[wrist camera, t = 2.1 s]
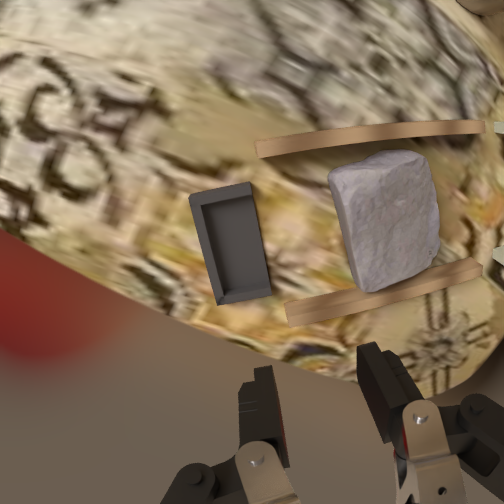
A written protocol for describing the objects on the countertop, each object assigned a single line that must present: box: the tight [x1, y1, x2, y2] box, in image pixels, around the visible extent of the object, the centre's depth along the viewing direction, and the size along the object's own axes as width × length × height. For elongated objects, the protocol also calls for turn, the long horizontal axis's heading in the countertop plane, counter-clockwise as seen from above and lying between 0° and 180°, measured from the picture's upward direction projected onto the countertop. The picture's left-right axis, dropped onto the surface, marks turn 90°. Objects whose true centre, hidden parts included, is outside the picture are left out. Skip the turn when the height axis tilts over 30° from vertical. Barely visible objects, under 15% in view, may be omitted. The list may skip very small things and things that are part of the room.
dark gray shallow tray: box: [188, 182, 272, 306], centre depth 28 cm, size 5×10×2 cm, turn 11°
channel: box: [254, 120, 486, 328], centre depth 27 cm, size 22×16×2 cm
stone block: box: [328, 149, 440, 292], centre depth 27 cm, size 12×5×10 cm
